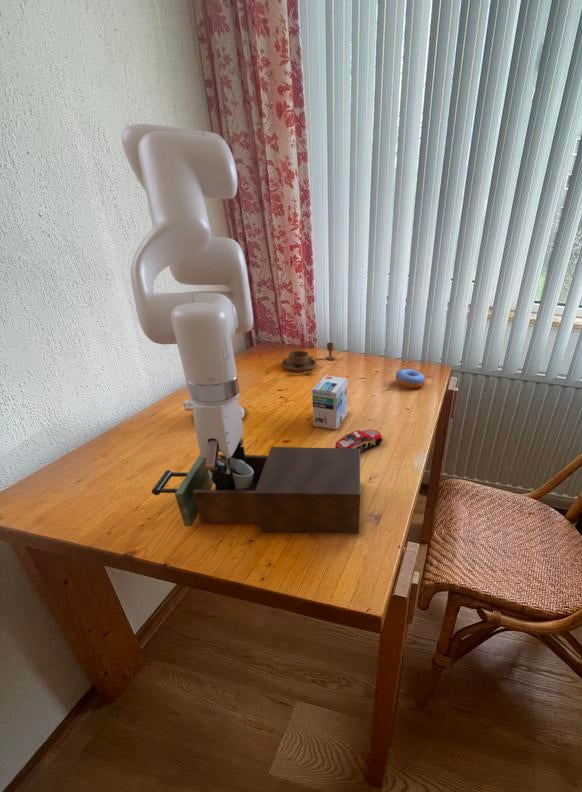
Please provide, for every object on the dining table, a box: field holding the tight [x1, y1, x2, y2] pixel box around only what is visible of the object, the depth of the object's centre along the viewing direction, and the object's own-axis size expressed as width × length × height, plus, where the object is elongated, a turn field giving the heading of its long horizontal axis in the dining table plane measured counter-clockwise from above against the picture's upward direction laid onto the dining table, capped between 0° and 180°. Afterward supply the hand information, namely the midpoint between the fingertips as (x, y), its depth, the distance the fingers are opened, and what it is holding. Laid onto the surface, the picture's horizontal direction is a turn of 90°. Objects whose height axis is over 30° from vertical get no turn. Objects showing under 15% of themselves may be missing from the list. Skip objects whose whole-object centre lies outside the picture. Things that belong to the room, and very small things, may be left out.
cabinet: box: [254, 446, 361, 534], centre depth 74 cm, size 18×15×9 cm
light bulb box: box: [311, 375, 348, 430], centre depth 104 cm, size 11×7×11 cm, turn 168°
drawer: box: [151, 453, 268, 527], centre depth 72 cm, size 23×14×7 cm, turn 93°
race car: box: [334, 429, 383, 453], centre depth 95 cm, size 13×5×4 cm, turn 133°
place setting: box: [281, 342, 335, 376], centre depth 138 cm, size 18×20×6 cm
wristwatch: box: [208, 457, 254, 489], centre depth 70 cm, size 9×6×5 cm
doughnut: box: [395, 368, 426, 389], centre depth 130 cm, size 10×10×5 cm
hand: (232, 476), depth 71 cm, fingers closed on wristwatch, 7 cm apart
